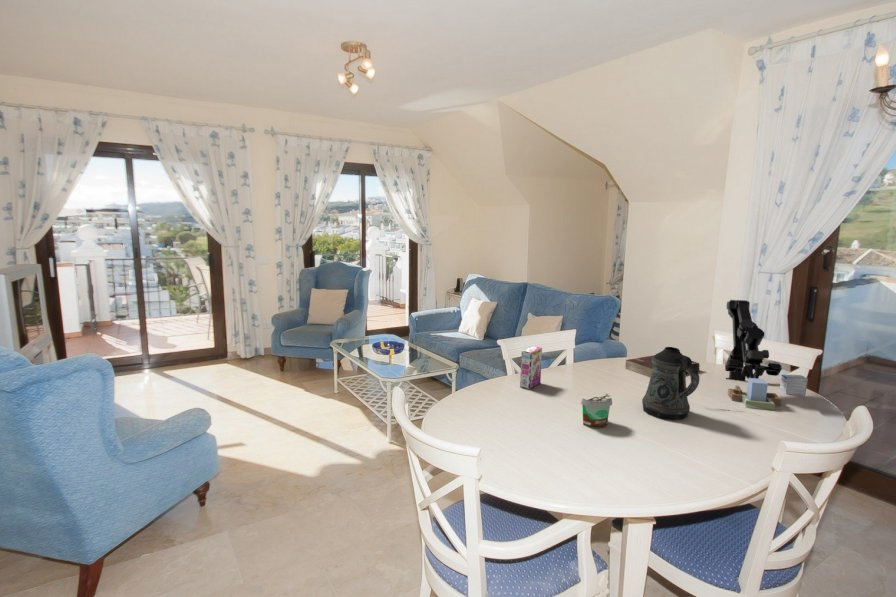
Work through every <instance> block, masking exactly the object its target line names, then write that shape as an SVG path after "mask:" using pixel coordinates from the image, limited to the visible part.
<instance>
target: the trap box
mask: <svg viewBox="0 0 896 597" xmlns="http://www.w3.org/2000/svg"><path fill="white" fill-rule="evenodd" d="M727 395H728V397H729V399H730V401H731V402H739V403H742V405H743V406H744V407H745V408H750V409H759V410H766V411H767V410H768V411H775V408H776V406H777V407H781V403H782V399H781V398H780V397H779V396H778V394H776V393H775V392H773V393H772V392H767V395H766V402H761V401H752V400H749V399H748V398H747V391H743V390H742V388H741V387H740V385H734V388H728V391H727Z"/></svg>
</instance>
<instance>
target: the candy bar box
mask: <svg viewBox="0 0 896 597" xmlns="http://www.w3.org/2000/svg"><path fill="white" fill-rule="evenodd" d="M520 357H521V360H520V379H519V380H520V381H519V382H520V384H519V385H520V386H519V387H520V388H521V387H522V389H525V388H526V389H525V390H530V389H532V388H534V387H536V386H538V385H540V384H541V379H542V378H541V377H542V358H543V348H542V347H539V346H531V347H529V348H526V349H524V350H522V351H521V356H520Z"/></svg>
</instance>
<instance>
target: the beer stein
mask: <svg viewBox="0 0 896 597" xmlns="http://www.w3.org/2000/svg"><path fill="white" fill-rule="evenodd" d="M652 356H653V355H652ZM692 361H693V360H692V359H691V357H689V356H687V355H685V354H682V353H681V351H680V349H679V348H678V347H673V346H666V347H664V348H663V350H661V351H659V352H658V353H655V354H654V356H653V357H652V363H653V369H652V373H651V377H649V382H648V386H647V389H646V392H645V395H644V396H643V398H642V401H641V404H642V409H643V412H644V413H645V414H647V415H649V416H651V417H654V418H657V419H662V420H665V421H667V420H668V421H679V420H681V421H682V420H685V419H687V418H688V416H689V413H690V409H691V408H690V407H691V406H690V403H689V399H688V397H689V396H690V395H692V394H693V393H694V392H695V390H697V388H698V387H699V384H700V381H701V380H700V379H701V378H700V374H699V371H698V370H697V369H696V368H695V367H694V366H692V365H691V364H692ZM685 372H687V373H688V374H687V375H689V377H690V383H689V384H688V386H687V379H686V374H685Z"/></svg>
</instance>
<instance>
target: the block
mask: <svg viewBox="0 0 896 597" xmlns="http://www.w3.org/2000/svg"><path fill="white" fill-rule="evenodd" d="M746 392H747V398H748V399H749V400H752V401H761V402H766V395H767V393H768V382H766V380H765V379H764V378H758V379H756V378H749V380H748V379H747V390H746Z"/></svg>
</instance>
